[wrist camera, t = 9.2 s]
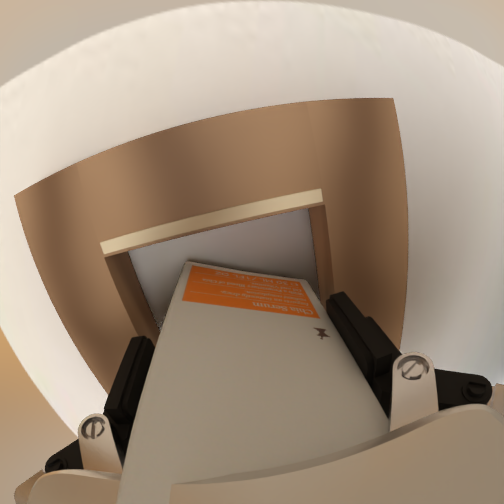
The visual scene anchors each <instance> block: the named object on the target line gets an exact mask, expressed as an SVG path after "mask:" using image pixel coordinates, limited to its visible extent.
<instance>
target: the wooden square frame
mask: <svg viewBox="0 0 504 504" xmlns="http://www.w3.org/2000/svg"><path fill="white" fill-rule="evenodd" d="M14 197H15V202H16V205H17V209H18V213H19V217H20V220H21V223H22V227H23V230H24V233H25V236H26V239H27V242H28V245H29V248H30V251H31V254H32V256H33V259H34V262H35V264H36V267H37V269H38V272H39V274H40V276H41V279H42V281H43V283H44V286H45V288H46V290H47V292H48V295H49V297H50V299H51V301H52V303H53V305H54V307H55V309H56V311H57V313H58V315H59V317H60V319H61V321H62V323H63V325H64V326H65V328H66V330H67V332H68V334H69V335H70V337H71V339H72V341H73V342H74V344H75V346H76V347H77V349H78V351H79V352H80V354H81V356H82V357H83V359H84V360H85V362H86V363H87V365H88V367H89V368H90V370H91V371H92V373H93V374H94V375H95V377H96V378H97V380H98V381H99V383H100V384H101V385H102V387H103V388H104V390H105V391H106V392H107V394H108V395H109V393H110V390H111V387H112V385H113V382H114V379H115V377H116V374H117V372H118V369H119V367H120V364H121V362H122V359H123V357H124V354H125V352H126V349H127V347H128V345H129V342H130V340H131V338H132V337H137V336H146V337H147V338H150V339H151V340H152V342H153V344H154V346H155V348H156V344H157V341H158V338H159V335H160V331H159V329H158V326H157V324H156V322H155V320H154V317H153V315H152V313H151V311H150V308H149V306H148V303H147V301H146V299H145V296H144V294H143V291H142V289H141V286H140V284H139V281H138V279H137V276H136V273H135V271H134V268H133V265H132V263H131V260H130V257H129V254H128V251H130V250H133V249H137V248H141V247H145V246H148V245H152V244H156V243H160V242H164V241H168V240H172V239H175V238H179V237H183V236H187V235H191V234H195V233H200V232H204V231H208V230H212V229H216V228H220V227H224V226H229V225H233V224H237V223H242V222H246V221H250V220H255V219H259V218H264V217H268V216H273V215H277V214H282V213H286V212H291V211H296V210H300V209H305V208H308V209H309V216H310V222H311V229H312V236H313V243H314V251H315V259H316V267H317V275H318V284H319V294H320V303H321V304H322V306H323V308H324V309H325V311H326V300H327V299H330V295H332V294H335V293H339V292H342V291H344V292H345V293H346V294H347V296H348V297H349V298H350V299H351V301H352V302H353V303H354V304H355V305H356V307H357V308H358V309H359V310H360V312H361V313H362V314H363V315H364V317H368V316H370V317H372V318H373V319H374V320H375V322H376V323H377V324H378V325H379V326H380V328H381V329H382V330H383V331H384V333H385V334H386V335H387V336H388V338H389V339H390V340H391V341H392V342H393V344H394V345H395V346H396V347H397V349H398V350H399V349H400V343H401V336H402V329H403V321H404V312H405V301H406V289H407V272H408V207H407V191H406V178H405V168H404V159H403V151H402V144H401V137H400V131H399V125H398V120H397V114H396V109H395V104H394V100H393V98H353V99H333V100H319V101H308V102H299V103H290V104H282V105H275V106H269V107H262V108H256V109H250V110H245V111H240V112H235V113H230V114H225V115H220V116H216V117H212V118H207V119H203V120H199V121H195V122H191V123H188V124H184V125H180V126H177V127H173V128H170V129H166V130H163V131H160V132H157V133H153V134H150V135H147V136H144V137H141V138H138V139H135V140H133V141H130V142H127V143H124V144H122V145H119V146H116V147H114V148H111V149H108V150H106V151H103V152H101V153H98V154H96V155H94V156H91V157H89V158H87V159H84V160H82V161H80V162H78V163H75V164H73V165H71V166H69V167H67V168H65V169H63V170H61V171H59V172H57V173H55V174H53V175H51V176H49V177H47V178H45V179H43V180H41V181H39V182H37V183H35V184H34V185H32V186H30V187H28V188H26V189H25V190H23V191H21V192H19V193H18V194H16V195H14ZM326 312H327V311H326Z"/></svg>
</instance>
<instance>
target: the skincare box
mask: <svg viewBox="0 0 504 504" xmlns="http://www.w3.org/2000/svg"><path fill="white" fill-rule="evenodd" d="M386 433H388V418H387V416H386V414H385V412H384V411H383V409H382V407H381V405H380V403H379V402H378V400H377V398H376V396H375V395H374V393H373V391H372V389H371V388H370V386H369V384H368V382H367V381H366V379H365V377H364V375H363V373H362V372H361V370H360V368H359V366H358V365H357V363H356V361H355V359H354V358H353V356H352V354H351V353H350V351H349V349H348V348H347V346H346V344H345V343H344V341H343V339H342V338H341V336H340V334H339V333H338V331H337V329H336V328H335V326H334V324H333V323H332V321H331V319H330V318H329V316H328V314H327V312H326V311H325V309H324V308H323V306H322V304H321V303H320V301H319V299H318V298H317V296H316V295H315V293H314V291H313V290H312V288H311V286H310V285H309V283H308V282H307V281H306V280H304V279H294V278H286V277H280V276H273V275H266V274H259V273H251V272H245V271H239V270H234V269H228V268H223V267H217V266H212V265H206V264H201V263H196V262H190V261H187V262H185V264H184V266H183V269H182V272H181V274H180V277H179V280H178V283H177V285H176V288H175V291H174V294H173V297H172V300H171V302H170V305H169V308H168V311H167V314H166V317H165V320H164V323H163V326H162V329H161V332H160V335H159V338H158V341H157V344H156V348H155V351H154V354H153V358H152V361H151V364H150V367H149V371H148V374H147V377H146V381H145V384H144V388H143V391H142V394H141V398H140V401H139V405H138V409H137V412H136V416H135V420H134V423H133V427H132V431H131V435H130V440H129V444H128V449H127V453H126V458H125V462H124V467H123V471H122V476H121V480H120V485H119V490H118V495H117V501H116V504H169V499H170V491H171V484H178V483H185V482H192V481H198V480H204V479H209V478H215V477H220V476H224V475H229V474H234V473H242V472H249V471H256V470H262V469H268V468H274V467H279V466H284V465H288V464H293V463H297V462H301V461H305V460H309V459H313V458H317V457H320V456H324V455H327V454H331V453H334V452H337V451H340V450H343V449H346V448H349V447H352V446H355V445H357V444H360V443H363V442H366V441H368V440H371V439H374V438H376V437H379V436H381V435H384V434H386Z"/></svg>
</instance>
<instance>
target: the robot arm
mask: <svg viewBox="0 0 504 504" xmlns="http://www.w3.org/2000/svg"><path fill="white" fill-rule="evenodd" d="M326 311H327V314H328V316H329V318H330V319H331V321H332V323H333V324H334V326H335V328H336V329H337V331H338V333H339V334H340V336H341V338H342V339H343V341H344V343H345V344H346V346H347V348H348V349H349V351H350V353H351V354H352V356H353V358H354V359H355V361H356V363H357V365H358V366H359V368H360V370H361V372H362V373H363V375H364V377H365V379H366V381H367V382H368V384H369V386H370V388H371V389H372V391H373V393H374V395H375V396H376V398H377V400H378V402H379V403H380V405H381V407H382V409H383V411H384V412H385V414H386V416H387V418H388V433H386V434H384V435H381V436H379V437H376V438H374V439H371V440H368V441H366V442H363V443H360V444H357V445H355V446H352V447H349V448H346V449H343V450H340V451H337V452H334V453H331V454H327V455H324V456H320V457H317V458H313V459H309V460H305V461H301V462H297V463H293V464H288V465H284V466H279V467H274V468H268V469H262V470H256V471H249V472H242V473H234V474H229V475H224V476H220V477H215V478H209V479H204V480H198V481H192V482H185V483H178V484H171V491H170V499H169V504H504V385H502V384H496V385H495V386H491V383H490V382H489V381H488V380H487V379H486V378H485V377H483V376H480V375H475V374H467V373H459V372H452V371H445V370H439V369H434V365H433V363H432V361H431V359H430V358H429V357H428V356H426V355H424V354H422V353H419V352H409V353H405V354H403V355H402V354H401V353H400V351H399V350H398V349H397V347H396V346H395V345H394V344H393V342H392V341H391V340H390V339H389V338H388V336H387V335H386V334H385V333H384V331H383V330H382V329H381V328H380V326H379V325H378V324H377V323H376V322H375V320H374V319H373V318H372V317H370V316H368V317H364V315H363V314H362V313H361V312H360V310H359V309H358V308H357V307H356V305H355V304H354V303H353V302H352V301H351V299H350V298H349V297H348V296H347V294H346V293H345V292H344V291H342V292H339V293H335V294H332V295H330V299H327V300H326ZM154 351H155V346H154V344H153V342H152V340H151V339H150V338H147V337H146V336H137V337H132V338H131V340H130V342H129V345H128V347H127V349H126V352H125V354H124V357H123V359H122V362H121V364H120V367H119V369H118V372H117V374H116V377H115V379H114V382H113V385H112V387H111V390H110V393H109V395H108V398H107V401H106V404H105V406H104V413H103V415H102V414H92V415H89V416H87V417H86V418H85V419H83V420H82V422H81V423H80V425H79V428H78V438H79V439H77V440H76V441H74V442H73V443H71V444H70V445H69V446H67V447H65V448H64V449H62V450H60V451H59V452H57V453H56V454H54V455H52V456H51V457H50V458H49V459H48V461H47V462H46V465H45V471H44V470H40V471H39V472H38V473H36V474H35V475H33V476H32V477H31V478H29V479H28V480H26V481H25V482H24V483H22V484H21V485H19V486H18V487H17V488H16V490H15V493H14V497H15V501H16V504H116V501H117V495H118V490H119V485H120V480H121V476H122V471H123V467H124V462H125V458H126V453H127V449H128V444H129V440H130V435H131V431H132V427H133V423H134V420H135V416H136V412H137V409H138V405H139V401H140V398H141V394H142V391H143V388H144V384H145V381H146V377H147V374H148V371H149V367H150V364H151V361H152V358H153V354H154Z"/></svg>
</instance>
